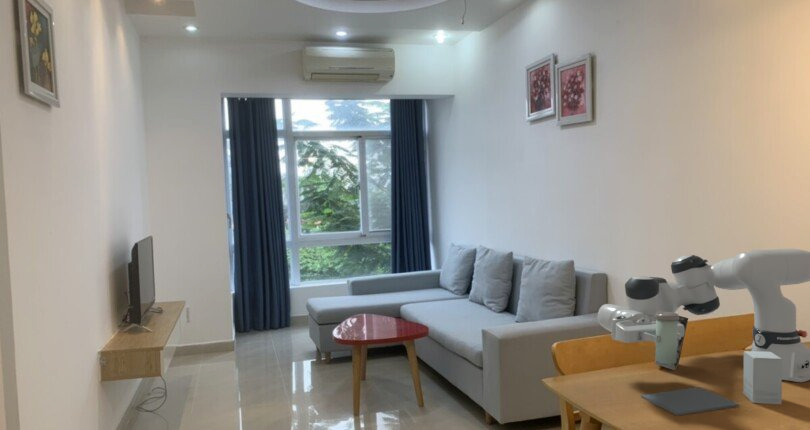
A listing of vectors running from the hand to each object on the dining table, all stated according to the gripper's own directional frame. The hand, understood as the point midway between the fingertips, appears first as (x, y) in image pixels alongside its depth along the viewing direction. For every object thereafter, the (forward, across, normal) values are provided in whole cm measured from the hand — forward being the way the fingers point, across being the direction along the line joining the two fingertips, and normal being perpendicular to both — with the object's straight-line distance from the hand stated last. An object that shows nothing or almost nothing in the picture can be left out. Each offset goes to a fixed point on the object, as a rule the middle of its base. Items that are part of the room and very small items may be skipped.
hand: (668, 338), depth 164 cm
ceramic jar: (-1, 0, -7) cm, 7 cm away
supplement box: (+8, -24, -17) cm, 31 cm away
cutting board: (+3, -4, -17) cm, 18 cm away
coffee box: (-24, -20, -17) cm, 36 cm away
